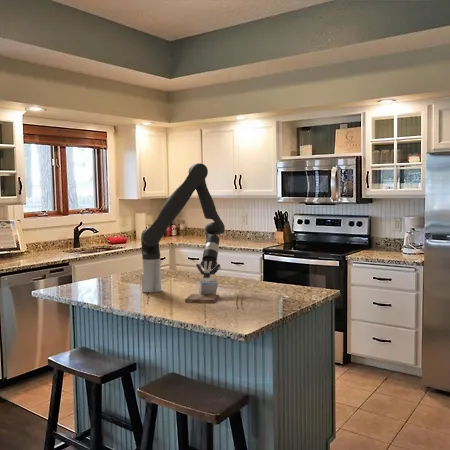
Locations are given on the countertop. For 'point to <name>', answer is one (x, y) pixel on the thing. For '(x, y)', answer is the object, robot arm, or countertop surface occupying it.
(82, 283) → the countertop surface
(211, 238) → the robot arm
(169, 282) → the countertop surface
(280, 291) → the countertop surface
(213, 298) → the board
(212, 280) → the medicine box
